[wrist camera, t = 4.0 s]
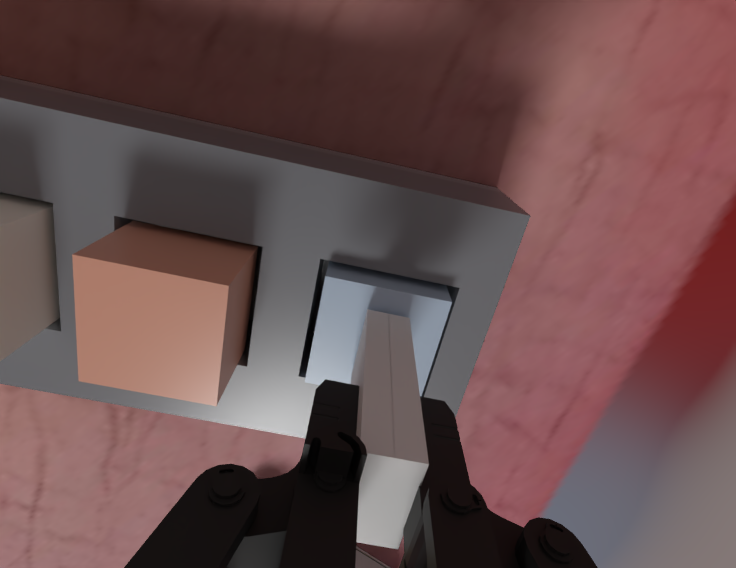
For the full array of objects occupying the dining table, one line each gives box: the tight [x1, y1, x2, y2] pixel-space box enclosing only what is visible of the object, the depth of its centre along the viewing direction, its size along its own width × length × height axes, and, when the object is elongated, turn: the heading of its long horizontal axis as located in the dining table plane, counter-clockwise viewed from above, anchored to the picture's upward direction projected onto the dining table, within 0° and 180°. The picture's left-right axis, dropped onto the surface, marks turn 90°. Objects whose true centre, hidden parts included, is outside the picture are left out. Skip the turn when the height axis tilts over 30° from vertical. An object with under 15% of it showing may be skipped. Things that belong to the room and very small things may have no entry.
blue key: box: [305, 261, 452, 396], centre depth 18 cm, size 4×4×4 cm
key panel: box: [0, 75, 530, 438], centre depth 18 cm, size 22×11×4 cm, turn 78°
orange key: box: [72, 220, 258, 406], centre depth 15 cm, size 4×4×4 cm
